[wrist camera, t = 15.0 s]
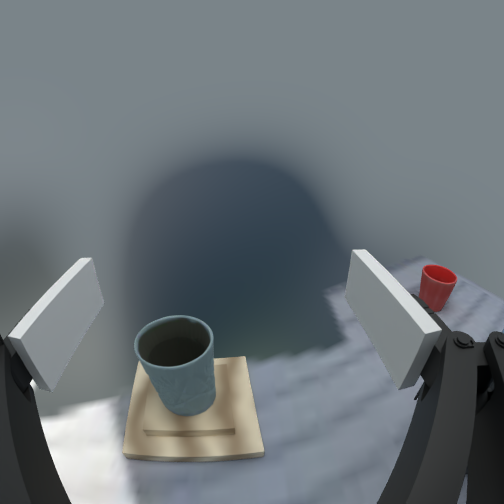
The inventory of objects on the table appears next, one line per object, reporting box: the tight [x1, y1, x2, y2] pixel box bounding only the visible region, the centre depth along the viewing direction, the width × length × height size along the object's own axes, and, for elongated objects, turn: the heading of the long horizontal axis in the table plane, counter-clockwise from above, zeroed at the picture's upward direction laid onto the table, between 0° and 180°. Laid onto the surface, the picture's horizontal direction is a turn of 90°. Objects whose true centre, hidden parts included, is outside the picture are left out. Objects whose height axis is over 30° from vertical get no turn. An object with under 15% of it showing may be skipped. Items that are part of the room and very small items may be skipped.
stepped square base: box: [122, 356, 264, 462], centre depth 37 cm, size 20×20×4 cm
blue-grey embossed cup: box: [134, 315, 216, 416], centre depth 34 cm, size 10×10×12 cm
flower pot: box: [419, 265, 457, 312], centre depth 61 cm, size 11×11×10 cm
